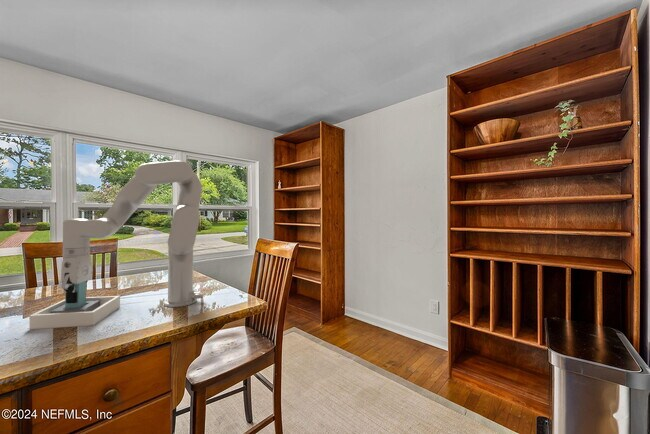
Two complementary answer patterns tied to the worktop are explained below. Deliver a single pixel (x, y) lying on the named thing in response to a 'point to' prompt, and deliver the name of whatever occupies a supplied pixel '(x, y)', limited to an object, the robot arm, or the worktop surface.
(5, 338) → the worktop surface
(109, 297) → the walled box
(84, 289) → the peg
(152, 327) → the worktop surface
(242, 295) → the worktop surface
